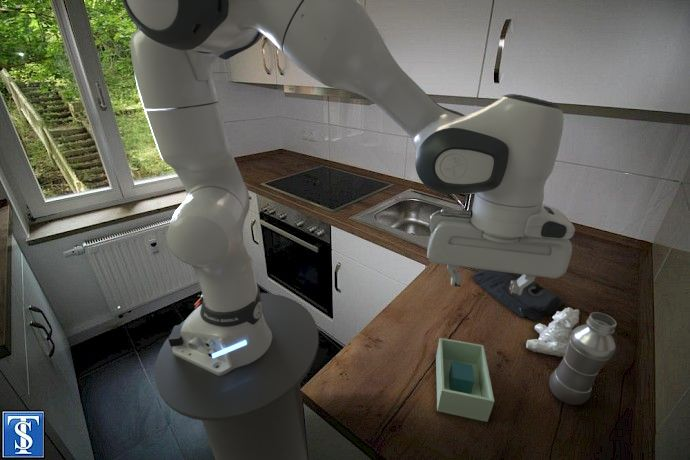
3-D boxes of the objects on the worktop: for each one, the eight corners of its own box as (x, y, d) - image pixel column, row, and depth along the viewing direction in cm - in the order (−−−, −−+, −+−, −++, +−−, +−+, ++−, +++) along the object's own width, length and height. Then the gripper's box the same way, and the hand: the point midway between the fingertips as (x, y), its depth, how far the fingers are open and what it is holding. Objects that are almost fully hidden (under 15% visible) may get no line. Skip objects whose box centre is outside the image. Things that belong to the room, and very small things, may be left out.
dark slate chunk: (503, 266, 103) (506, 253, 101) (568, 307, 86) (574, 293, 83) (467, 277, 98) (470, 264, 96) (528, 323, 80) (533, 309, 78)
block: (449, 390, 63) (452, 377, 61) (448, 374, 66) (451, 361, 65) (470, 395, 62) (474, 381, 60) (468, 378, 66) (472, 364, 64)
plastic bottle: (541, 377, 66) (573, 304, 57) (576, 383, 65) (615, 309, 56) (552, 406, 61) (589, 329, 51) (591, 413, 59) (637, 336, 50)
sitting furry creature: (535, 326, 79) (549, 288, 74) (575, 344, 74) (594, 305, 69) (523, 348, 73) (538, 308, 68) (566, 369, 68) (586, 328, 62)
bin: (441, 390, 57) (494, 401, 55) (439, 337, 68) (483, 345, 66) (437, 411, 60) (487, 422, 58) (435, 356, 71) (478, 364, 69)
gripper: (431, 215, 46) (420, 290, 52) (589, 230, 42) (557, 310, 48) (431, 199, 51) (421, 269, 58) (570, 211, 47) (544, 285, 54)
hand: (484, 288), depth 53 cm, fingers open, 8 cm apart
